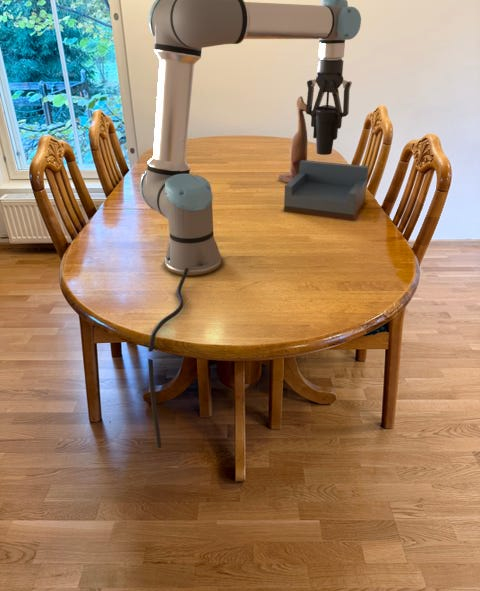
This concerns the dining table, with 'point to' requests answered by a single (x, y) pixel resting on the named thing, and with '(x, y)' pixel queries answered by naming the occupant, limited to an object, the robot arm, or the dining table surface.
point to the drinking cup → (325, 127)
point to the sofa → (327, 190)
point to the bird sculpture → (297, 144)
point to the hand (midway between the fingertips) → (325, 137)
